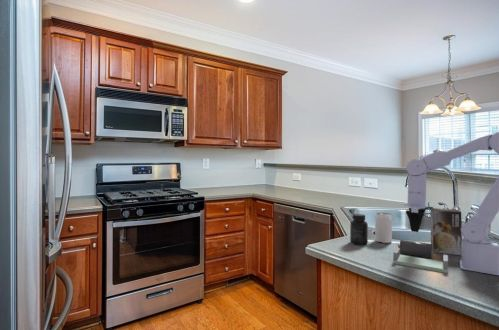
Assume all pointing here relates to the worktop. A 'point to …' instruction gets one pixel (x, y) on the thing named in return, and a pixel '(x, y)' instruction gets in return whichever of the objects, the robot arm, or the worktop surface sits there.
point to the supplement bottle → (359, 230)
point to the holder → (421, 262)
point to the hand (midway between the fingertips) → (415, 229)
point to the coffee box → (446, 231)
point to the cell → (415, 248)
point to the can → (383, 227)
